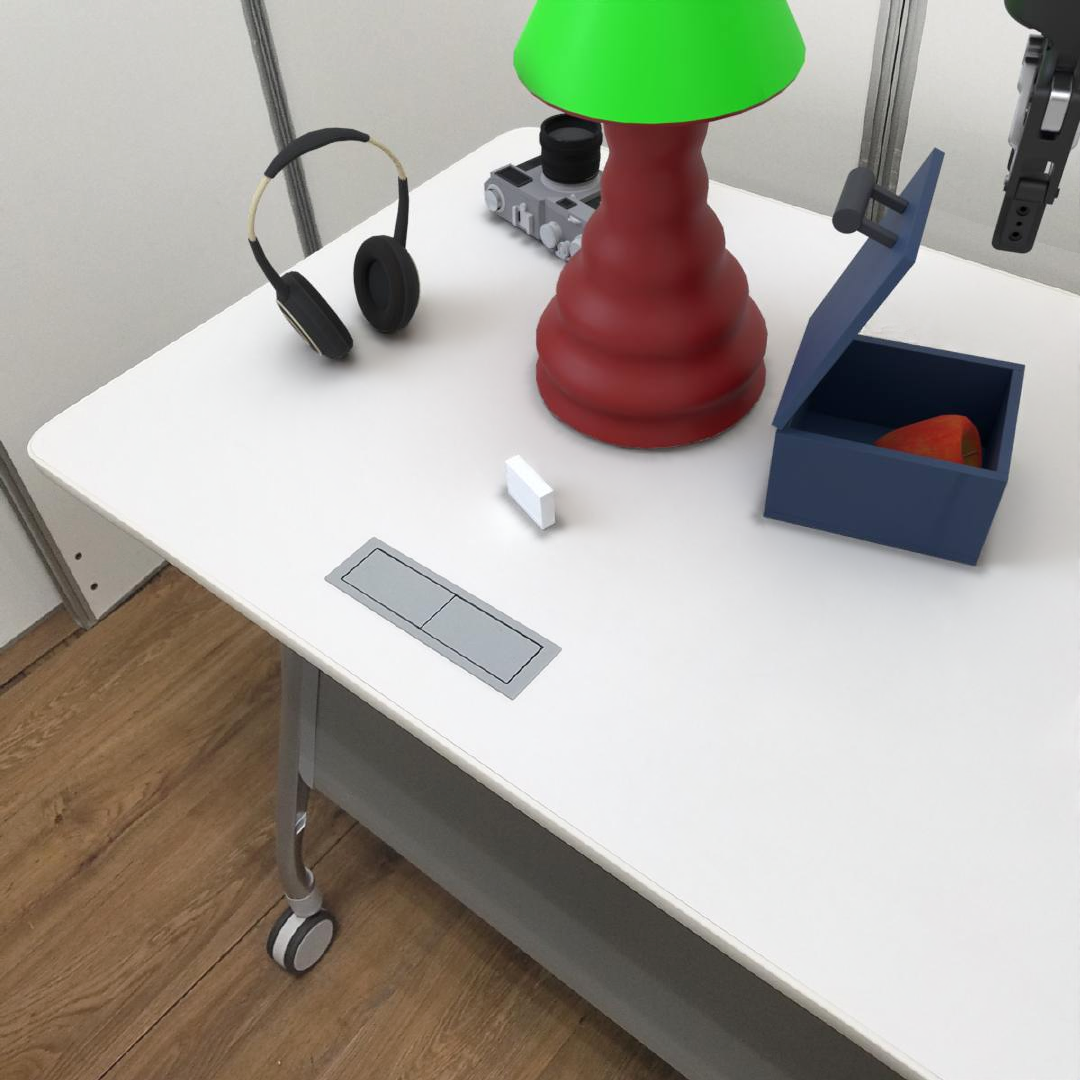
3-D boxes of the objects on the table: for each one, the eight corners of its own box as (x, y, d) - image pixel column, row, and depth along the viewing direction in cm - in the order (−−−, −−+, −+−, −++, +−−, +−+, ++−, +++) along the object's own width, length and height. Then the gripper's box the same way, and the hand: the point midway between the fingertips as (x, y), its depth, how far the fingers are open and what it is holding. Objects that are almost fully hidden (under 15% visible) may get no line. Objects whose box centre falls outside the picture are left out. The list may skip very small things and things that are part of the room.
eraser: (542, 530, 84) (539, 497, 81) (508, 493, 87) (504, 460, 84) (555, 523, 84) (553, 490, 82) (521, 487, 87) (518, 453, 84)
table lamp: (808, 356, 96) (911, -268, 62) (678, 489, 86) (715, -163, 52) (625, 278, 104) (627, -304, 71) (489, 391, 95) (416, -220, 61)
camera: (674, 150, 101) (595, 187, 97) (666, 245, 109) (592, 284, 104) (548, 87, 110) (471, 118, 106) (549, 179, 118) (476, 212, 113)
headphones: (451, 327, 101) (421, 123, 86) (308, 394, 96) (250, 190, 81) (404, 284, 106) (368, 84, 91) (266, 346, 101) (204, 144, 86)
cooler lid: (945, 152, 71) (878, 115, 71) (915, 262, 64) (840, 221, 63) (818, 323, 84) (761, 292, 84) (781, 430, 77) (718, 397, 77)
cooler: (994, 450, 87) (1025, 364, 80) (975, 566, 79) (1007, 482, 73) (799, 410, 91) (812, 325, 85) (763, 516, 84) (775, 432, 77)
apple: (893, 515, 85) (992, 506, 80) (860, 496, 80) (964, 485, 76) (894, 438, 86) (992, 425, 82) (862, 414, 82) (964, 399, 77)
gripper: (1191, -20, 48) (1076, 288, 60) (1192, -133, 56) (1092, 157, 68) (1010, -35, 50) (935, 266, 62) (1038, -142, 58) (967, 141, 71)
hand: (1017, 208), depth 65 cm, fingers open, 8 cm apart
